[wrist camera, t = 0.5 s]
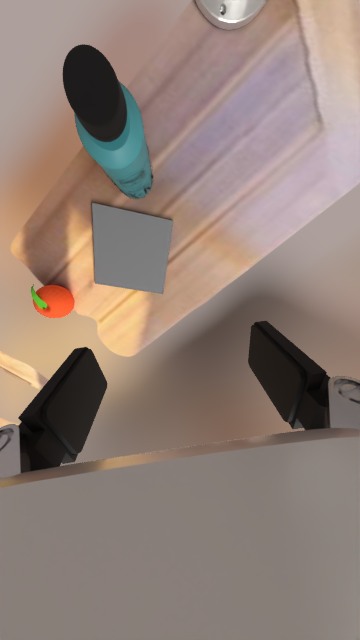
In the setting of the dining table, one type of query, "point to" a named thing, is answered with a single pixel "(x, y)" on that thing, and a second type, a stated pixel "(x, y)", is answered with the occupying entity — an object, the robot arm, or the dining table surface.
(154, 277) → the mat
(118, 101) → the beverage bottle
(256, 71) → the dining table surface
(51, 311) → the clementine
